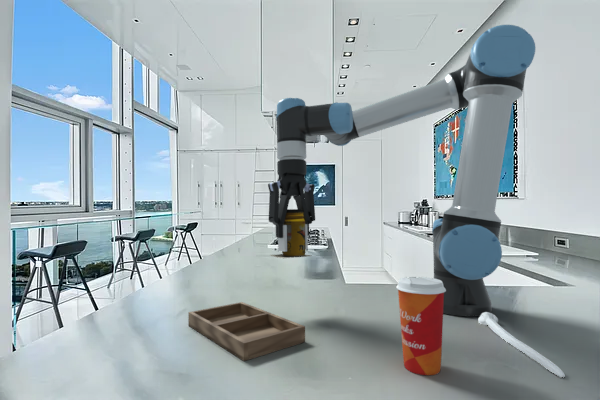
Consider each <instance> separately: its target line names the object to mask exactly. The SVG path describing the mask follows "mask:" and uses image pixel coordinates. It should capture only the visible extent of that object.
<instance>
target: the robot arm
mask: <svg viewBox="0 0 600 400" xmlns="http://www.w3.org/2000/svg"><path fill="white" fill-rule="evenodd" d="M535 54H536V42H535V39H534V38H533V36H532V35H531V34H530V33H529V32H528V31H527V30H526V29H524V28H523V27H520V26H519V25H514V24H501V25H500V24H499V25H496V26H493V27H491V28H489V29H487V30H485V31H484V32H483V33H482V34H480V36H479V37H477V39H476V40H475V41H474V43H473V44H472V47H471V49H470V53H469V55H468V58H467V60H466V62H465V64H464V65H463V66H462V67H460V68H459V69H457V70H454V71H452V72H449V73H447V74H446V75H445V77H444V78H443V79H442V80H438V81H435V82H432V83H430V84H427V85H424V86H421V87H418V88H416V89H413V90H410V91H409V90H408V91H406V92H404V93H400V94H398V95H395V96H392V97H389V98H386V99H384V100H381V101H377V102H375V103H373V104H370V105H366V106H364V107H361V108H358V109H355V110H353V109H352V106H351V104H350V103H349V102H337V101H336V102H333V103H325V104H318V105H317V104H316V105H306V101H304V100H303V99H302V98H299V97H294V98H293V97H287V98H282V99H280V100H279V101H278V102H277V104H276V117H275V120H276V121H275V122H276V150H277V151H276V155H277V156H276V157H277V160H278V161H277V162H276V163H277V164H276V166H277V167H276V169H277V170H276V171H277V172H276V173H277V175H278V178H277V181H275V182H269V183H268V184H267V187H268V191H269V202H268V222H269V223H272V225H274V226H275V237H276V238H277V243H278V244H277V245H278V246H277V248H278V249H277V251H278V252H282V251H283V252H286V251H287V225H283V224H284V221H285V217H286V213H287V209H288V207H289V203H290V200H291V198H293V200H295V205H296V209H303V211H304V212H303V215H304V217H303V218H304V220H305V241H306V242H305V244H306V245H305V247H306V249H305V250H308V249H309V246H308V245H309V244H308V243H309V241H308V239H309V236H310V225H311V224H312V223H313V222H315V221H316V212H315V210H316V207H315V196H314V192H315V188H316V186H315V184H314V183H311V184H310V183H309V182H307V180H306V175H307V171H308V170H307V161H306V158H307V140H306V139H307V137H313V136H314V137H317V136H323V137H325V138H326V139H327V140H328V142H329V143H331V144H333V145H335V146H337V147H343V146H347V145H348V144H349V143H350V142H351V141H353V140H356V139H359V138H362V137H364V136H367V135H371V134H374V133H377V132H380V131H383V130H386V129H389V128H392V127H395V126H398V125H402V124H404V123H408V122H411V121H414V120H416V119H420V118H422V117H426V116H429V115H431V114H435V113H438V112H441V111H445V110H448V109H453V110H455V111H457V110H461V109H464V108H467V113H466V117H465V125H464V130H463V137H462V141H461V142H462V143H461V149H460V154H459V156H460V157H459V160H458V161H459V162H458V168H457V175H456V180H455V187H454V191H453V193H454V194H453V198H452V205H451V207H449V208H447V210H445V211H444V212H443V215H442V218H438V219H435V220H434V221H433V223H432V229H431V231H432V240H433V241H432V246H433V278H434V279H438V280H441V281H442V282H443V286H444V288H445V289H446V291H445V292H444V302H443V314H446V315H449V316H450V315H452V316H460V317H480V316H481V314H482V313H484V312H489V313H493V311H492V309H493V308H492V306H493V305H492V300H491V297H490V295H489V292H488V290H487V287H486V285H485V282H484V278H486V277H488V276H490V275H492V274H493V273H494V272H495V271H496V270H497V268H498V267H499V265H500V263H501V261H502V258H503V257H502V256H503V250H502V245H501V241H500V240H499V239H500V232H501V226H502V220H501V219H500V217H499V216H498V215H497V214H496V207H497V200H498V195H499V188H500V187H499V186H500V181H501V177H502V175H501V174H502V169H503V162H504V156H505V150H506V145H507V139H508V133H509V128H510V127H509V126H510V120H511V114H512V108H513V104H514V103H515V102H516V101H517V100H519V99H520V98H521V97H522V95H523V92H524V91H523V90H524V86H525V78H526V73H527V69H529V67H530V66H531V64H532V63H533V61H534V58H535Z"/></svg>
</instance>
